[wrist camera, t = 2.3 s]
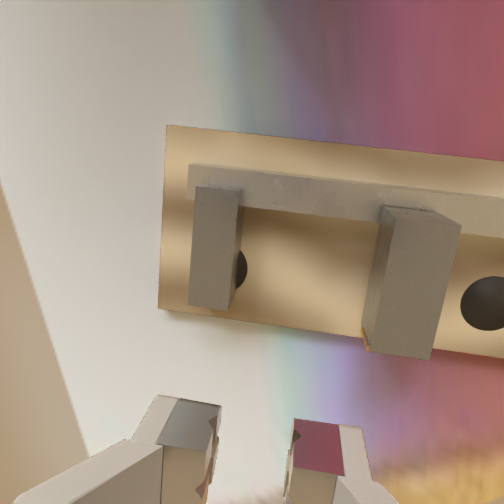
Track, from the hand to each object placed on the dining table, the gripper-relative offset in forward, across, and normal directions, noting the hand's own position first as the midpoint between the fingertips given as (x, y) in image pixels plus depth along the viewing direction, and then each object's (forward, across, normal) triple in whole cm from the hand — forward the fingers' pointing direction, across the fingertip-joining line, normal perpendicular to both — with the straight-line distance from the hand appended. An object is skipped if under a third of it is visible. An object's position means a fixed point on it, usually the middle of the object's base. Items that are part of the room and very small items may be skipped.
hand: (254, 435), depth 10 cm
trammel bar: (+18, -5, 0) cm, 19 cm away
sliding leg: (+18, -7, 0) cm, 19 cm away
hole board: (+19, -5, 0) cm, 20 cm away
